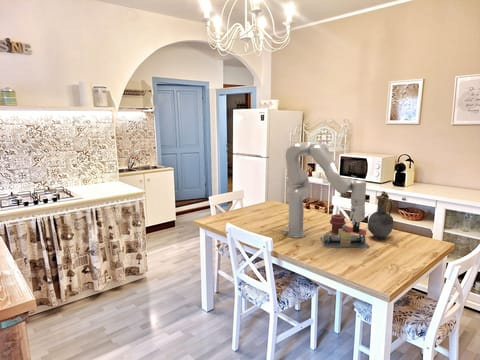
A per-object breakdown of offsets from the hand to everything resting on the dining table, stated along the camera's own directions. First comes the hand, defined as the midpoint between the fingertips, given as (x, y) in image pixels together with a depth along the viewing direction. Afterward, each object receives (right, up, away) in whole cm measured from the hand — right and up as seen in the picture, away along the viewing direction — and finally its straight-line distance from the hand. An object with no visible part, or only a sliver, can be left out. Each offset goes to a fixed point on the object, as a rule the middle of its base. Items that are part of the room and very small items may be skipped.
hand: (355, 232), depth 187 cm
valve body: (-4, -8, +9) cm, 13 cm away
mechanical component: (-3, -5, +27) cm, 27 cm away
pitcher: (+23, -7, +18) cm, 30 cm away
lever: (0, -1, +4) cm, 4 cm away
